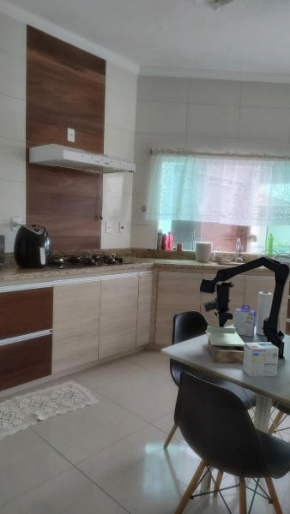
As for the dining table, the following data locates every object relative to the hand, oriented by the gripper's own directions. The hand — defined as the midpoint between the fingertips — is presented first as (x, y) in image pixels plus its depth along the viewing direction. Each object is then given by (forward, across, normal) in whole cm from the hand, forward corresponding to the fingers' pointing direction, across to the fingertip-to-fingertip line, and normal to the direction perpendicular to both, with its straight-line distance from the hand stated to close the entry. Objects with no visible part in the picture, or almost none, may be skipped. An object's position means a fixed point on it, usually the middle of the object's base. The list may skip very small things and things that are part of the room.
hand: (220, 329), depth 157 cm
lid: (+1, +9, 0) cm, 9 cm away
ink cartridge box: (+7, -15, +15) cm, 22 cm away
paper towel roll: (+7, -16, +25) cm, 30 cm away
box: (+6, +15, 0) cm, 16 cm away
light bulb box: (+7, +30, +9) cm, 32 cm away
